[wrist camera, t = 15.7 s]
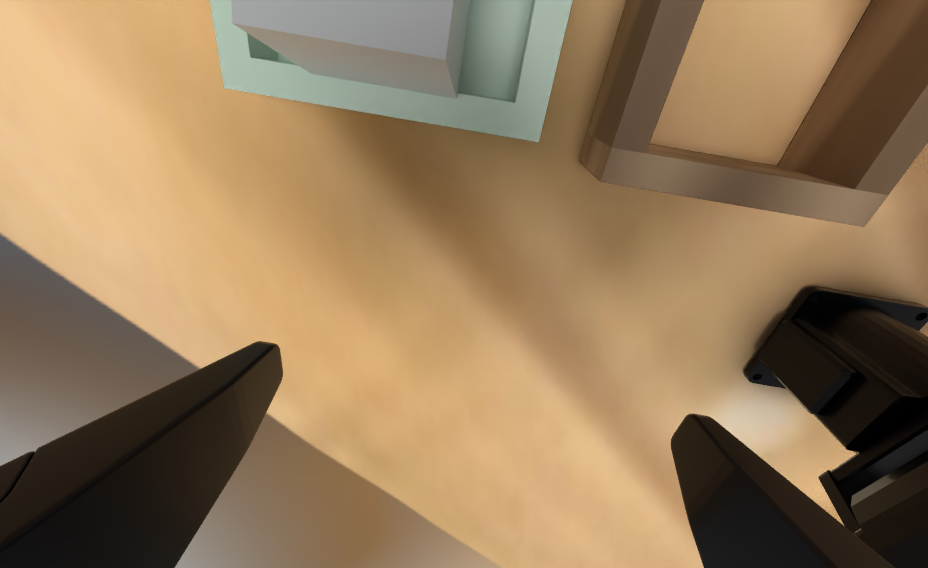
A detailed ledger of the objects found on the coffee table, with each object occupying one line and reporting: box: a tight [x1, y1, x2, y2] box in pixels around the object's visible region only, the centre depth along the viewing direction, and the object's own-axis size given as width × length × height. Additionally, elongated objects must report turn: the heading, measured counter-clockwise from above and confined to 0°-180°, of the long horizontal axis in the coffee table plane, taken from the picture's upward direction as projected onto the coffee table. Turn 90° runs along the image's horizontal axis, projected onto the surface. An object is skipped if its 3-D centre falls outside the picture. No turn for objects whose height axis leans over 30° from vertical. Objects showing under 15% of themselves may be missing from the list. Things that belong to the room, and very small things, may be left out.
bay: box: [579, 0, 928, 227], centre depth 13 cm, size 10×8×4 cm
